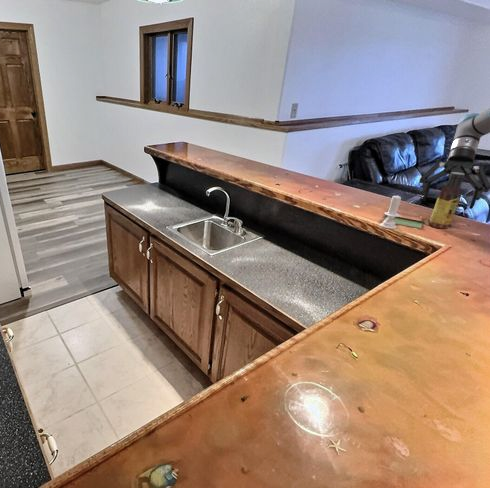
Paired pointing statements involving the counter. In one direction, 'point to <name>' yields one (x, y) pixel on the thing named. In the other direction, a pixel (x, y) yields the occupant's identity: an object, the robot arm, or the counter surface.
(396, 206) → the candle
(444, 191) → the sauce bottle
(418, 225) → the mat
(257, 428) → the counter surface
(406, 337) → the counter surface
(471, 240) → the counter surface
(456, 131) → the robot arm
